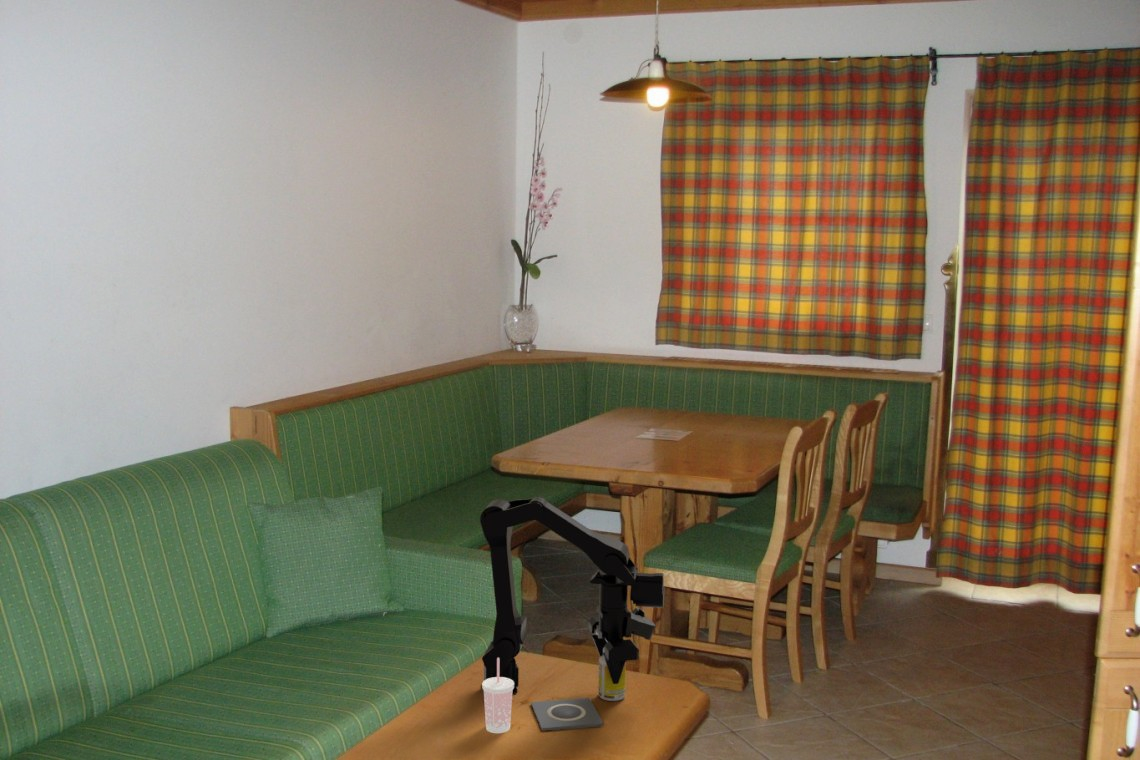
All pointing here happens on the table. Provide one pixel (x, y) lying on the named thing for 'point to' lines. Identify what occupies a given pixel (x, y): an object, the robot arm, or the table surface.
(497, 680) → the beverage cup
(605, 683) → the supplement bottle
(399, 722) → the table surface
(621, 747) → the table surface
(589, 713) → the card
